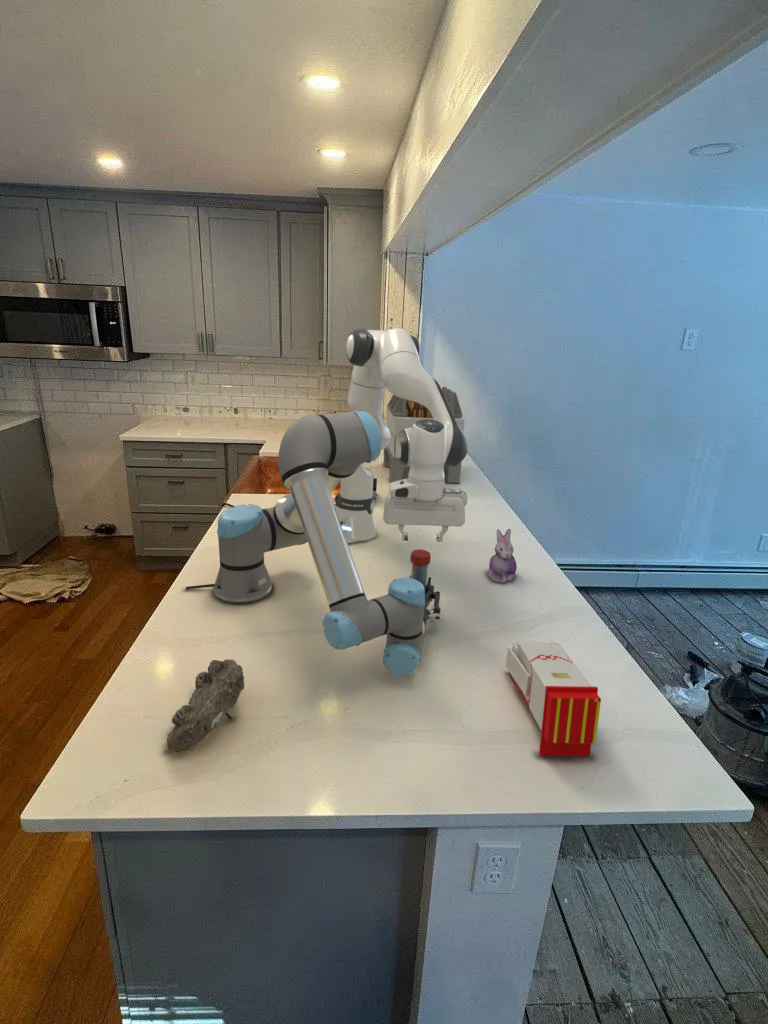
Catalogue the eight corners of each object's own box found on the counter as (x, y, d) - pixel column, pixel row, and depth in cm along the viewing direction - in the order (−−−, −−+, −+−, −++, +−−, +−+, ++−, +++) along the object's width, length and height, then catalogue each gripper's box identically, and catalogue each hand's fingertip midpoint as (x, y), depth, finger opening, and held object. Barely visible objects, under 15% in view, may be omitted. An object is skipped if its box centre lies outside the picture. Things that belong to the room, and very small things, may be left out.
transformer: (382, 463, 289) (386, 382, 275) (445, 464, 293) (451, 384, 279) (390, 482, 257) (394, 392, 243) (460, 483, 261) (468, 394, 247)
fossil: (192, 660, 117) (244, 628, 112) (224, 691, 120) (276, 661, 115) (142, 746, 98) (202, 712, 93) (182, 779, 101) (242, 748, 96)
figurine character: (377, 508, 228) (376, 492, 242) (377, 490, 225) (377, 476, 238) (360, 507, 228) (361, 492, 242) (360, 490, 225) (361, 475, 238)
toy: (554, 624, 127) (610, 694, 97) (548, 679, 130) (602, 763, 100) (500, 623, 126) (541, 693, 97) (496, 678, 129) (534, 763, 100)
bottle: (414, 606, 152) (418, 550, 146) (427, 611, 149) (432, 554, 144) (405, 611, 149) (409, 554, 143) (418, 617, 146) (422, 559, 141)
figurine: (500, 586, 164) (506, 538, 159) (479, 572, 173) (484, 526, 168) (525, 580, 169) (532, 534, 164) (503, 567, 177) (509, 522, 172)
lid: (417, 556, 148) (418, 547, 147) (433, 561, 145) (434, 553, 144) (406, 562, 144) (406, 553, 143) (422, 567, 141) (423, 559, 140)
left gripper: (371, 634, 133) (388, 589, 154) (445, 644, 130) (451, 597, 152) (372, 606, 130) (389, 564, 152) (448, 615, 128) (453, 571, 149)
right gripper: (466, 485, 141) (461, 537, 145) (384, 482, 140) (382, 534, 145) (470, 493, 135) (465, 547, 139) (384, 490, 134) (382, 544, 139)
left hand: (420, 580), depth 152 cm, fingers closed on bottle, 4 cm apart
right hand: (422, 540), depth 142 cm, fingers open, 7 cm apart
